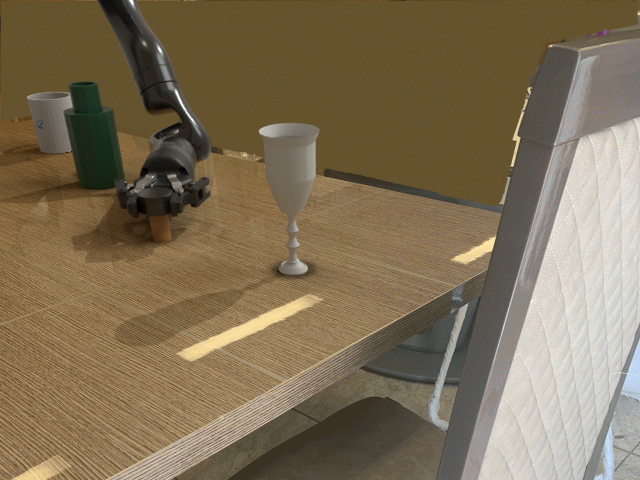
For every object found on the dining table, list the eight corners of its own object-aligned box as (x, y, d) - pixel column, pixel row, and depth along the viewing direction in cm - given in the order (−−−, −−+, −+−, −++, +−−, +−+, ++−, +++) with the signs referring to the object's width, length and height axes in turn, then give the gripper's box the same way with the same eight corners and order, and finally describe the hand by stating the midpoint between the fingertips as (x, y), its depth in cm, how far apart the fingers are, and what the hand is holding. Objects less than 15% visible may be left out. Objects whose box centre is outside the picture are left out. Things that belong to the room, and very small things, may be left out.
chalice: (275, 267, 86) (268, 121, 75) (325, 271, 85) (325, 124, 74) (260, 291, 80) (250, 136, 69) (313, 295, 79) (312, 140, 68)
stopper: (145, 256, 89) (134, 198, 84) (149, 244, 92) (140, 187, 88) (178, 255, 89) (170, 197, 84) (182, 242, 93) (173, 186, 88)
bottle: (75, 189, 113) (52, 88, 103) (85, 176, 119) (64, 80, 109) (121, 188, 113) (102, 87, 104) (128, 175, 120) (111, 79, 110)
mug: (83, 151, 133) (72, 98, 127) (39, 155, 131) (26, 101, 125) (81, 137, 143) (70, 87, 137) (40, 141, 140) (27, 90, 134)
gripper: (117, 148, 96) (92, 182, 82) (213, 146, 96) (205, 179, 83) (126, 198, 100) (104, 239, 87) (218, 196, 101) (211, 236, 87)
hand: (154, 209), depth 85 cm, fingers closed on stopper, 4 cm apart
